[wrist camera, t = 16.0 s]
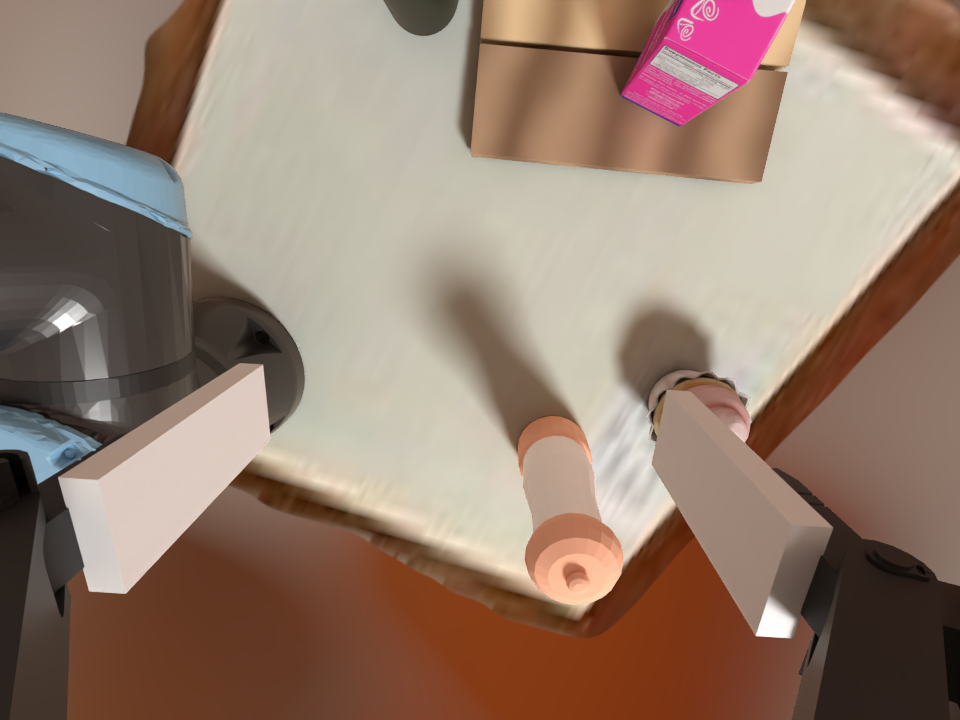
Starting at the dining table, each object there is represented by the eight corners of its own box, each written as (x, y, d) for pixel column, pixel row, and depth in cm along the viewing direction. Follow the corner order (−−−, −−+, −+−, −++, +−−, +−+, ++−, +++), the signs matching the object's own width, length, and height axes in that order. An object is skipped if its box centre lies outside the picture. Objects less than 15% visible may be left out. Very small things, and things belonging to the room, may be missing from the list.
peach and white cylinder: (503, 443, 49) (502, 581, 31) (557, 402, 48) (588, 524, 29) (547, 488, 51) (570, 645, 33) (600, 450, 49) (656, 594, 31)
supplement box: (653, 19, 35) (722, -80, 24) (720, 55, 36) (818, -25, 25) (615, 96, 37) (664, 36, 26) (680, 130, 37) (755, 85, 26)
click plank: (775, 79, 37) (787, 72, 36) (751, 183, 39) (761, 181, 38) (480, 51, 38) (479, 43, 36) (471, 156, 40) (470, 153, 38)
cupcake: (686, 455, 49) (730, 515, 39) (614, 410, 47) (641, 461, 38) (748, 386, 46) (811, 433, 36) (674, 336, 45) (719, 372, 35)
